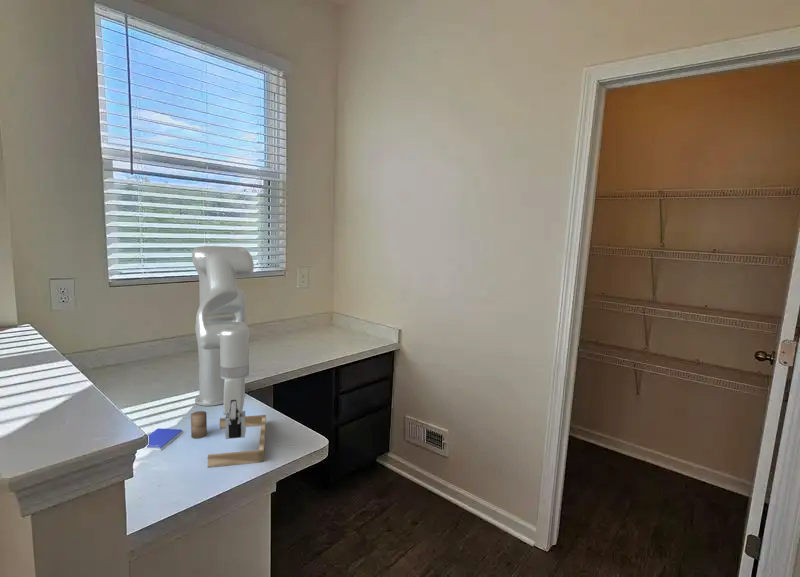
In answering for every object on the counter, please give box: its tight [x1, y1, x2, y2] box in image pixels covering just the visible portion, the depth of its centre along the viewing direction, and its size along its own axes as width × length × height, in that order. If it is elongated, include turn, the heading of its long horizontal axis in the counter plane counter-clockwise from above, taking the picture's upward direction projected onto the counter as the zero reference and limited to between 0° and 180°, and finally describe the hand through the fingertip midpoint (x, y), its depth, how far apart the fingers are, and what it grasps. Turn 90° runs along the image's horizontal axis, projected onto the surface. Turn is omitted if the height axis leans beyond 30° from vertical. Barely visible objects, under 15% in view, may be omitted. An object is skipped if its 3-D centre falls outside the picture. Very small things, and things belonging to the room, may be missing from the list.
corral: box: [207, 414, 267, 468], centre depth 134 cm, size 26×14×3 cm, turn 15°
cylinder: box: [190, 410, 208, 440], centre depth 138 cm, size 4×4×7 cm
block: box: [224, 410, 247, 440], centre depth 127 cm, size 4×5×6 cm
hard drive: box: [142, 428, 183, 451], centre depth 134 cm, size 2×8×12 cm
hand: (235, 432), depth 127 cm, fingers closed on block, 4 cm apart
